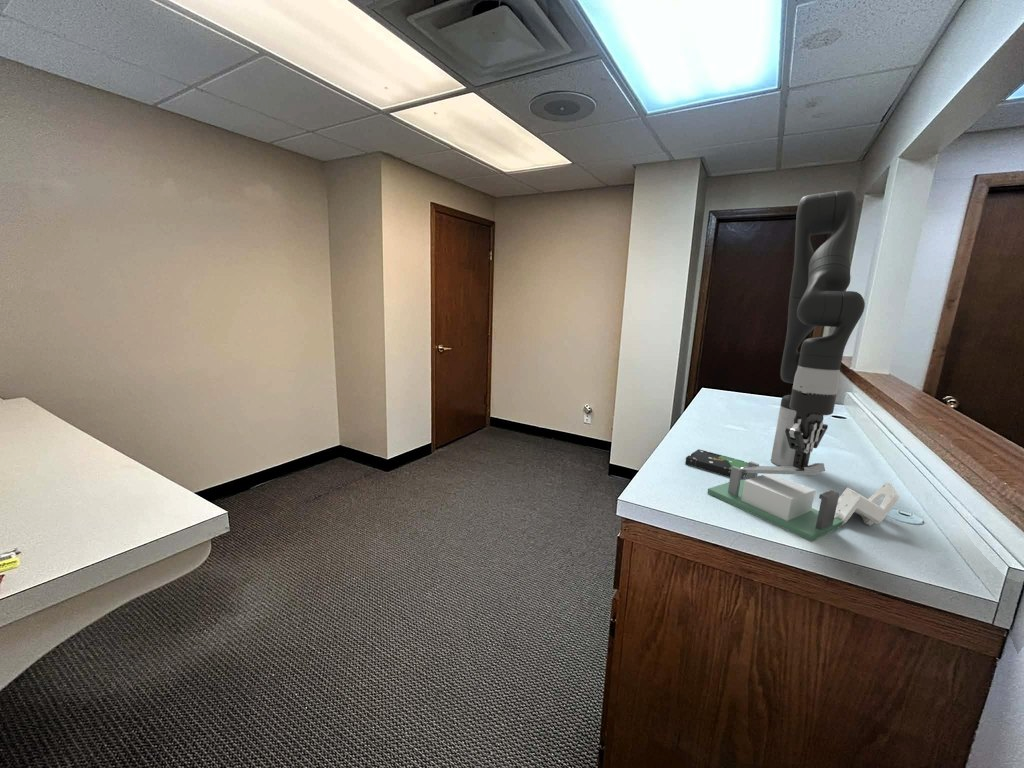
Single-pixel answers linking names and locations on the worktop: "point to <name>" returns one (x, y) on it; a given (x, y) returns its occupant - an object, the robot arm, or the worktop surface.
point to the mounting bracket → (866, 504)
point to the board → (792, 525)
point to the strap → (785, 469)
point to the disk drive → (714, 462)
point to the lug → (827, 509)
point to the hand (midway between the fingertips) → (799, 467)
